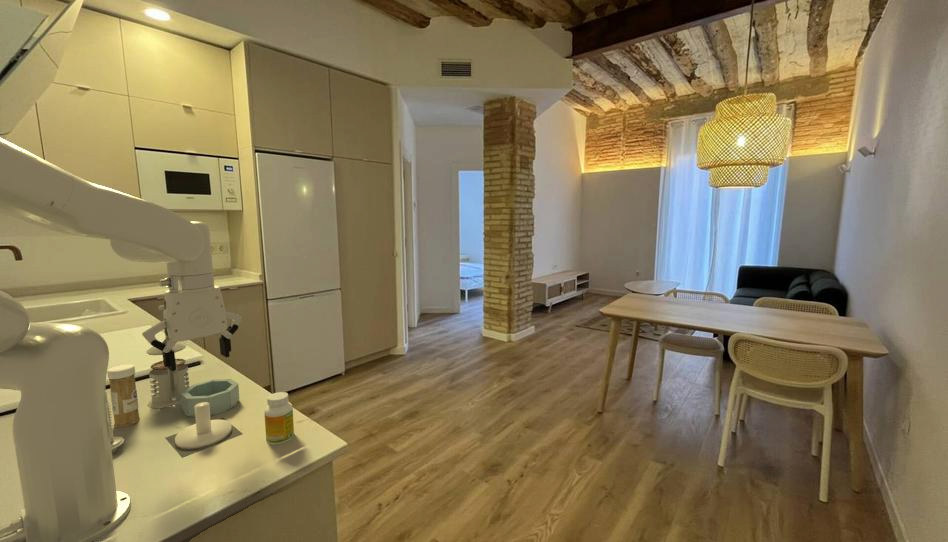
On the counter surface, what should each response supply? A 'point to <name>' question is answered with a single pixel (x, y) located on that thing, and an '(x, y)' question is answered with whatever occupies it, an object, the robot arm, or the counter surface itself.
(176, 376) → the french press
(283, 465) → the counter surface
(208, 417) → the lid
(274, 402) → the supplement bottle
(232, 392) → the bowl
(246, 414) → the counter surface
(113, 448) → the screw
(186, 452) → the mat
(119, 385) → the sprinkles bottle
